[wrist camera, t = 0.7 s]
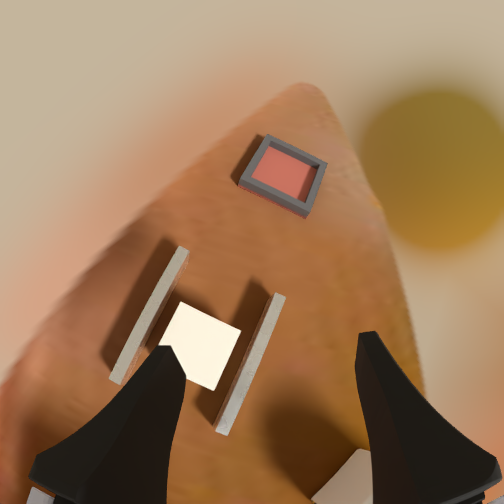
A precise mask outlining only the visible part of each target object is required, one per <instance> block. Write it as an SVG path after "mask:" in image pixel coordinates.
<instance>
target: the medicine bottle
mask: <svg viewBox="0 0 504 504" xmlns="http://www.w3.org/2000/svg"><path fill="white" fill-rule="evenodd" d="M311 501H312V503H314V504H373V484H372V465H371V452H370V451H367V450H363V449H357V450H356V451H355V452H354V454H353V455H352V456H351V457H350V458H349V459H348V460H347V462H346V463H345V464H344V465H343V466H342V467H341V468H340V469H339V470H338V472H337V473H336V474H335V475H334V476H333V477H332V478H331V479H330V480H329V481H328V482H327V483H326V484H325V485H324V486H323V487H322V488H321V489H320V490H319V491H318V492H317V493H316V494H315V495H314V496H313V497H312V498H311Z"/></svg>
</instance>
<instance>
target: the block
mask: <svg viewBox="0 0 504 504" xmlns="http://www.w3.org/2000/svg"><path fill="white" fill-rule="evenodd" d="M240 332H241V331H240V330H238V329H236V328H234V327H232V326H230V325H228V324H225V323H223V322H221V321H219V320H217V319H215V318H213V317H211V316H209V315H207V314H205V313H203V312H201V311H199V310H197V309H195V308H193V307H191V306H189V305H187V304H185V303H183V302H180V304H179V306H178V308H177V310H176V312H175V314H174V316H173V318H172V319H171V321H170V323H169V325H168V327H167V329H166V331H165V333H164V335H163V337H162V339H161V341H160V343H159V345H171V347H172V349H173V351H174V353H175V355H176V357H177V359H178V361H179V362H180V364H181V366H182V368H183V370H184V372H185V374H186V378H187V379H189V380H191V381H193V382H195V383H197V384H200V385H202V386H204V387H206V388H208V389H211V390H213V391H214V390H215V387H216V385H217V383H218V381H219V379H220V377H221V374H222V372H223V370H224V368H225V366H226V363H227V361H228V359H229V357H230V355H231V352H232V350H233V348H234V346H235V343H236V341H237V339H238V337H239V335H240Z"/></svg>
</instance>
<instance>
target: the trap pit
mask: <svg viewBox="0 0 504 504" xmlns="http://www.w3.org/2000/svg"><path fill="white" fill-rule="evenodd" d="M327 164H328V163H326V162H324V161H322V160H320V159H318V158H316V157H314V156H312V155H310V154H308V153H306V152H304V151H302V150H300V149H298V148H296V147H294V146H292V145H290V144H288V143H286V142H284V141H282V140H279V139H277V138H275V137H273V136H271V135H269V134H267V135H266V137H265V138H264V140H263V142H262V143H261V145H260V146H259V148H258V150H257V151H256V153H255V155H254V156H253V158H252V159H251V161H250V163H249V164H248V166H247V168H246V169H245V171H244V173H243V174H242V176H241V178H240V180H239V184H238V187H241V188H243V189H245V190H247V191H249V192H251V193H253V194H255V195H258V196H260V197H262V198H264V199H266V200H268V201H270V202H272V203H274V204H276V205H278V206H280V207H282V208H284V209H286V210H288V211H290V212H292V213H294V214H296V215H298V216H300V217H302V218H304V219H306V217H307V216H308V214H309V213H310V211H311V208H312V206H313V203H314V200H315V197H316V195H317V192H318V189H319V186H320V184H321V181H322V178H323V175H324V172H325V169H326V167H327Z"/></svg>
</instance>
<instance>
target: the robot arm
mask: <svg viewBox="0 0 504 504" xmlns="http://www.w3.org/2000/svg"><path fill="white" fill-rule="evenodd" d="M355 373H356V381H357V389H358V393H359V398H360V402H361V406H362V411H363V415H364V419H365V424H366V428H367V433H368V437H369V444H370V452H371V465H372V484H373V504H482V500H484V499H485V494H484V491H485V490H487V489H489V488H490V487H492V486H494V485H495V484H497V483H498V482H500V481H501V480H502V474H501V470H500V466H499V464H498V461H497V459H496V457H495V456H493V455H492V454H490V453H488V452H487V451H485V450H483V449H482V448H481V447H479V446H478V445H476V444H475V443H473V442H472V441H471V440H469V439H468V438H467V437H465V436H464V435H463V434H462V433H460V432H459V431H458V430H457V429H456V428H455V427H453V426H452V425H451V424H450V423H449V422H448V421H447V420H445V419H444V418H443V417H442V416H441V415H440V414H439V413H438V412H437V411H436V410H435V409H434V408H433V407H432V406H431V405H430V404H429V402H428V401H427V400H426V399H425V398H424V397H423V396H422V395H421V393H420V392H419V391H418V390H417V389H416V387H415V386H414V385H413V384H412V383H411V381H410V380H409V379H408V377H407V376H406V375H405V373H404V372H403V371H402V369H401V368H400V367H399V365H398V364H397V363H396V361H395V360H394V358H393V357H392V355H391V354H390V352H389V351H388V349H387V348H386V346H385V345H384V343H383V342H382V340H381V338H380V337H379V335H378V333H377V332H375V331H370V332H363V333H359V337H358V345H357V353H356V360H355ZM185 384H186V374H185V372H184V370H183V368H182V366H181V364H180V362H179V361H178V359H177V357H176V355H175V353H174V351H173V349H172V347H171V345H157V346H156V347H155V349H154V350H153V351H152V352H151V353H150V355H149V356H148V357H147V358H146V360H145V361H144V362H143V363H142V365H141V366H140V367H139V369H138V370H137V371H136V372H135V374H134V375H133V376H132V377H131V378H130V380H129V381H128V382H127V383H126V384H125V386H124V387H123V388H122V389H121V390H120V391H119V392H118V394H117V395H116V396H115V397H114V398H113V399H112V400H111V401H110V402H109V403H108V404H107V405H106V406H105V407H104V408H103V409H102V410H101V411H100V412H99V413H98V414H97V415H96V416H95V417H94V418H93V419H92V420H90V421H89V422H88V423H87V424H85V425H84V426H83V427H82V428H80V429H79V430H78V431H76V432H75V433H74V434H72V435H71V436H69V437H68V438H66V439H65V440H63V441H62V442H60V443H58V444H57V445H55V446H53V447H51V448H49V449H47V450H46V451H44V452H42V453H40V454H37V455H36V458H35V461H34V463H33V466H32V468H31V471H30V474H29V476H28V477H29V479H31V480H32V481H34V482H35V483H37V484H39V485H40V486H42V487H44V488H46V489H47V490H49V491H51V492H53V493H55V494H56V496H55V498H53V497H51V496H49V495H47V494H46V493H44V492H42V491H40V490H38V489H37V488H35V487H32V489H31V491H30V494H29V497H28V500H27V503H26V504H166V499H167V478H168V467H169V458H170V451H171V446H172V441H173V437H174V433H175V429H176V426H177V422H178V418H179V414H180V410H181V406H182V403H183V399H184V392H185ZM487 504H504V495H503V496H501V497H499V498H497V499H495V500H493V501H491V502H489V503H487Z"/></svg>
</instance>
